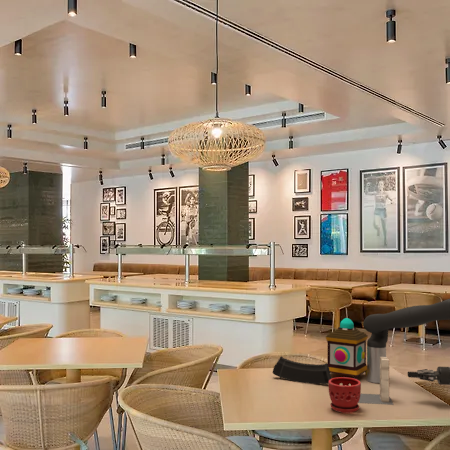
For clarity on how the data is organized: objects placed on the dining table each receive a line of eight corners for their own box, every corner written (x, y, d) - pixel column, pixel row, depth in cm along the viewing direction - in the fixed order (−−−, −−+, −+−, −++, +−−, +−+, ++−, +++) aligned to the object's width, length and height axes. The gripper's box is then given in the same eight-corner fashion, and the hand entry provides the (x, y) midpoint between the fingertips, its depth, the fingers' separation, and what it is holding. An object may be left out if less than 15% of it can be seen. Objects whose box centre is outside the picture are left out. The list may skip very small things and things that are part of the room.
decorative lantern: (358, 383, 267) (358, 322, 268) (320, 377, 278) (321, 318, 279) (372, 375, 284) (372, 317, 285) (336, 370, 295) (336, 314, 296)
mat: (338, 393, 249) (338, 392, 249) (388, 396, 246) (388, 394, 246) (340, 403, 234) (340, 402, 234) (393, 406, 231) (393, 404, 231)
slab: (379, 397, 241) (380, 356, 242) (387, 398, 241) (387, 357, 241) (381, 401, 235) (381, 359, 236) (389, 402, 235) (389, 360, 235)
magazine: (337, 367, 263) (282, 343, 277) (335, 368, 260) (280, 344, 274) (327, 400, 265) (273, 374, 279) (325, 401, 262) (271, 375, 276)
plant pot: (324, 405, 231) (324, 376, 232) (355, 405, 232) (355, 376, 232) (333, 415, 218) (333, 385, 219) (365, 414, 219) (365, 384, 219)
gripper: (445, 363, 241) (405, 362, 243) (453, 370, 228) (410, 369, 230) (446, 380, 240) (405, 379, 243) (454, 388, 227) (410, 387, 230)
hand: (407, 374), depth 237 cm, fingers closed
